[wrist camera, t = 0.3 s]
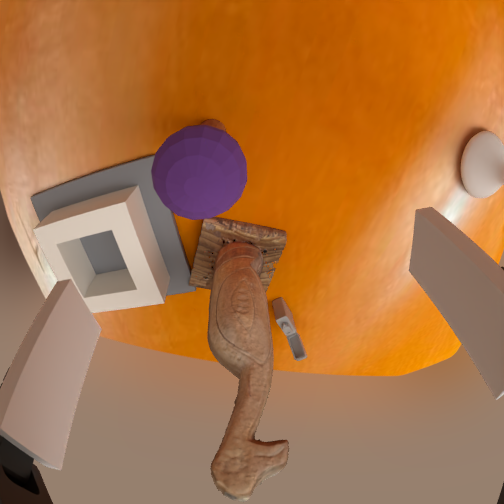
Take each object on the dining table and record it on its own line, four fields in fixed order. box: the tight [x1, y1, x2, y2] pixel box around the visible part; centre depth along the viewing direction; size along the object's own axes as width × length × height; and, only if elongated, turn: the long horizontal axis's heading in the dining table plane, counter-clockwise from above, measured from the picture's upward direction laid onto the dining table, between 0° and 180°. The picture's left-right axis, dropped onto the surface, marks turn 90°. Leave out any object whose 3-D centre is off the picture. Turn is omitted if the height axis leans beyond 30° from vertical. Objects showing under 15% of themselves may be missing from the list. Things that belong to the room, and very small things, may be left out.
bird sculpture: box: [189, 217, 289, 502], centre depth 28 cm, size 11×12×32 cm
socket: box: [31, 155, 196, 313], centre depth 36 cm, size 20×20×6 cm
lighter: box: [272, 297, 307, 361], centre depth 45 cm, size 7×2×8 cm, turn 28°
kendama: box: [151, 119, 247, 220], centre depth 24 cm, size 6×6×20 cm
